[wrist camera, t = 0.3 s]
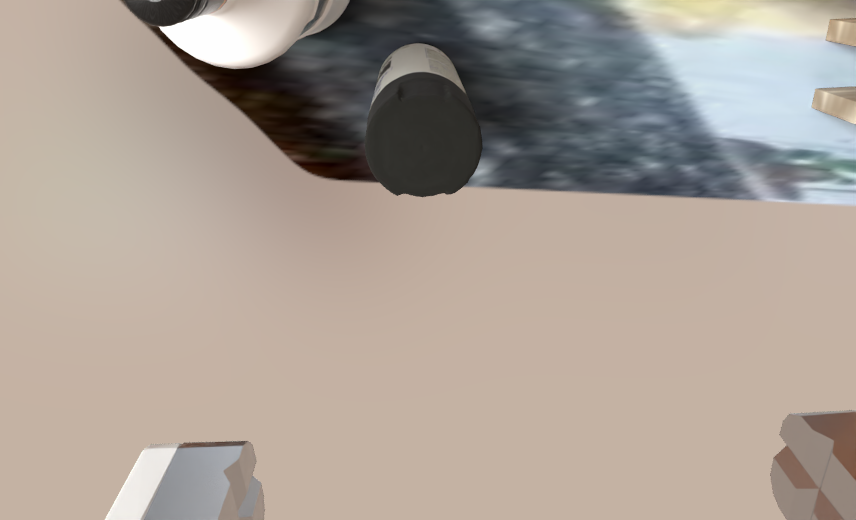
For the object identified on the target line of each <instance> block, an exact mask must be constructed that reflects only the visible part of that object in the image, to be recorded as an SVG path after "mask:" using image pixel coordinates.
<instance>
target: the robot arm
mask: <svg viewBox="0 0 856 520" xmlns="http://www.w3.org/2000/svg"><path fill="white" fill-rule="evenodd" d="M780 436H781V438H782V439H783V441H784V442H785V443H786V446H785V447H784V448H783V449H782V450H781V451H780V452H779V453H778V454H777V455H776V456H775V457H774V458H773V464H772V468H771V474H770V476H771V483H772V490H773V494H774V497H775V499H776V502H777V504H778V507H779V508H780V510H781V511H782V513H783V514H784V516H785V518H786V519H787V520H856V410H847V411H830V412H813V413H796V414H795V413H794V414H789V415H788V416H787V417H786V419H785V420H784V421H783V423H782V427H781V431H780ZM255 464H256V457H255V453H254V449H253V445H252V444H251V443H250V442H248V441H233V442H232V441H229V442H192V443H183V444H179V443H178V444H151V445H150V446H148V447H147V448H145V449H144V450H143V451H142V453H141V454H140V456H139V458H138V460H137V462H136V464H135V465H134V467H133V469H132V471H131V473H130V475H129V477H128V478H127V480H126V482H125V484H124V486H123V487H122V489H121V491H120V493H119V495H118V497H117V498H116V500H115V502H114V504H113V506H112V508H111V509H110V511H109V513H108V515H107V517H106V519H105V520H264V511H265V509H264V495H263V490H262V485H261V483H260V482H259V481H258V480H257V479H256V478H254V477H253V476H252V475H253V471H254V468H255Z"/></svg>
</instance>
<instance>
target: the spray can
mask: <svg viewBox="0 0 856 520" xmlns="http://www.w3.org/2000/svg"><path fill="white" fill-rule="evenodd" d="M481 151H482V137H481V130H480V126H479V124H478V122H477V119H476V116H475V112H474V109H473V107H472V104H471V101H470V100H469V99H468V96H467V94H466V92H465V89H464V87H463V85H462V83H461V80H460V79H459V76H458V74H457V72H456V70H455V67H454V65H453V64H452V62H451V60H450V59H449V58H448V57H447V56H446V55H445V54H444V53H443V52H442V51H440V50H439V49H437V48H435V47H433V46H430V45H427V44H421V43H415V44H409V45H405V46H403V47H401V48H399V49H397V50H396V51H394V52H393V53H392V54H391V55H390V56H389V57H388V58H387V59H386V60H385V62H384V63H383V65H382V67H381V69H380V72H379V76H378V79H377V84H376V88H375V92H374V96H373V100H372V104H371V108H370V112H369V116H368V123H367V130H366V136H365V153H366V157H367V161H368V164H369V166H370V169H371V171H372V173H373V175H374V176H375V177H376V179H377V180H378V181H379V182H380V183H381V184H382V185H383V186H384V187H385V188H386V189H387V190H389V191H390V192H392V193H393V194H395V195H397V196H398V195H400V194H409V195H413V196H420V197H426V196H434V195H437V194H441V193H445V194H453V193H455V192H457V191H458V190H459V189H461V188H462V187H463V186H464V185H465V184H466V183H468V181H469V179H470V177H471V176H472V175H473V174H474V172H475V170H476V168H477V166H478V163H479V160H480V157H481Z"/></svg>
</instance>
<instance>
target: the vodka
mask: <svg viewBox="0 0 856 520" xmlns="http://www.w3.org/2000/svg"><path fill="white" fill-rule="evenodd" d="M349 1H350V0H124V2H125V3H126V5H127V6H128V8H129V9H130V11H131V12H132V13H134V14H135V15H136V16H137V17H138V18H139V19H140V20H142V21H144V22H146V23H148V24H150V25H154V26H159V27H160V29H161V30H162V31H163V32H164V33H165V34H166V35H167V36H168V37H169V38H170V39H171V40H172V41H173V42H174V43H175V44H176V45H177V46H178V47H180V48H181V49H183V50H184V51H186V52H187V53H189V54H190V55H192V56H194V57H195V58H197V59H200V60H202V61H204V62H207V63H209V64H212V65H214V66H220V67H226V68H232V69H237V68H252V67H255V66H259V65H262V64H265V63H269V62H270V61H272V60H274V59H275V58H277V57H279V56H280V55H282V54H284V53H285V52H286V51H287V50H288V49H289V48H290V47H291V46H292V45H293V44H294V43H295V42H296V41H297V40H298V39H301V38H303V37H305V36H307V35H311V34H314V33H317V32H320V31H322V30H323V29H325V28H327V27H328V26H330V25H331V24H333V23H334V22H335V21H336V20H337V19H338V18H339V17H340V16H341V14H342V13H343V12H344V10H345V9H346V7H347V5H348V3H349Z"/></svg>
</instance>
